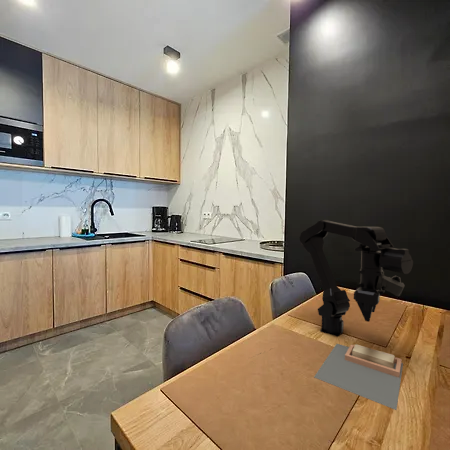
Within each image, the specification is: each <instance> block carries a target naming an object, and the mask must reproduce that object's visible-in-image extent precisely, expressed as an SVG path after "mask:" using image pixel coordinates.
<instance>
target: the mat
mask: <svg viewBox="0 0 450 450" xmlns="http://www.w3.org/2000/svg"><path fill="white" fill-rule="evenodd" d="M349 347H350V346H346V345H343V344H339V343H336V344H335V346H334V347H333V348H332V350H331V351H330V352H329V354H328V356H327V357H326V359H325V360H324V362H323V363H322V365H321V366H320V367H319V369H318V370H317V372H316V373H315V375H314V376H313V378H314V379H317V380H320V381H322V382H325V383H327V384H329V385H332V386H334V387H337V388H340V389H342V390H345V391H347V392H350V393H352V394H354V395H357V396H360V397H362V398H365V399H367V400H370V401H373V402H375V403H376V404H380V405H383V406H385V407H387V408H390V409H392V410H394V411H397V408H398V402H399V395H400V387H401V380H402V373H403V367H404V363H403V362H401V369H400V376H399V377H396V376H393V375H390V374H387V373H384V372H381V371H377V370H374V369H371V368H368V367H365V366H362V365H359V364H356V363H353V362H350V361H347V360H345V354H346V352H347V351H348V349H349ZM351 356H352V354H351ZM393 369H396V364H395V363H394V368H393Z"/></svg>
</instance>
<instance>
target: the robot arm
mask: <svg viewBox="0 0 450 450" xmlns="http://www.w3.org/2000/svg"><path fill="white" fill-rule="evenodd" d="M329 233H330V234H333V235H334V234H335V235H338V236H343V237H346V238H350V239H352V240H353V241H354V242H356V243H358V244H359V245H358V246H356V248H354V251H355V252H359V253H360V254H361V255H360V258H361V259H360V269H359V275H360V282H359V284H358V287H357V289H355V290H354V292H353V299H354V300H355V302H356V304H357V306H358V308H359V310H360V312H361V315H362V318H363V319H364V321H365V322H370V320H371V317H372V313H374V312H375V311H376V307H377V306H378V304H379V303H380V297H381V295H383V294H384V293H385V291H387V292H388V293H391V294H393V295H394V296H396V297H400V296H401V295H402V292H403V290H404V288H405V284H404V282H402V280H401V277H400V276H397V275H394V276H392V277H391V276H386V275H385V271H389V272H395V273H400V274H405V275H408V274H409V273H411V271H412V268H413V266H414V260H413V258H412V255H411V254H410V249H408V248H396V247H395V246H394V244H393V243H392V241H391V240H390V239H389V237H388V235H387V232H386V231H385V229H384V228H383V227H382V226H355V225H352V224H346V223H342V222H336V221H331V220H330V219H324V220H323V219H320V220H319V221H317V222H316V223H314V224H313V225H311V226H309V227H308V228H307V229H305V230H303V231H302V232H301V233H300V235H299V241H300V243H301V245H302V247H303V248H304V250H305V251H306V252H307V253H308V254H310V257H311V261H312V263H313V265H314V268H315V270H316V273H317V276H318V279H319V281H320V284H321V288H322V290H323V291H322V305H321V306H319V307H318V308H317V313H318V315H319V316H320V317H321V329H320V330H319V332H320V333H324V334H327V335H330V336H335V337H336V338H337V337H340V336H341V335H342V334H343V332H344V320H343V316H346V314H347V312H348V311H349V309H350V307H351V304H350V301H351V300H350V299H349V297H348V294H347V293H348V292H347V291H346V290H345V289H341V288H340V287H338V285H337V282H336V280H335V277H334V275H333V273H332V270H331V267H330V265H329V262H328V260H327V259H328V258H327V257H326V254H325V253H324V252H325V251H324V245H325V242H324V239H325V238H326V237H327V236H328V234H329Z"/></svg>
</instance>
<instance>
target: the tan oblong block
mask: <svg viewBox="0 0 450 450" xmlns="http://www.w3.org/2000/svg"><path fill="white" fill-rule="evenodd" d="M354 345H355V346H354V348H353V350H352V356H354V357H358V358H361V359H364V360H367V361H370V362H373V363H377V364H380V365H383V366H386V367H389V368H392V369H393V368H394V357H396V356H395V355H394V354H392V353H388V352H385V351H382V350H381V351H380V350H377V349H374V348H371V347H367V346H363V345H360V344H356V343H355V344H354Z"/></svg>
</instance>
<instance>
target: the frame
mask: <svg viewBox="0 0 450 450" xmlns="http://www.w3.org/2000/svg"><path fill="white" fill-rule="evenodd" d="M355 345H356V344H352V343H351V344H350V346H348V347H349V349H348V351H347V352H346V354H345V360H347V361H350V362H353V363H356V364H359V365H362V366H365V367H368V368H371V369H374V370H377V371H381V372H384V373H387V374H390V375H393V376H396V377H399V376H400V369H401V363H402V358H399V357H396V356H394V363H395V364H396V369H392V368H389V367H386V366H383V365H380V364H377V363H373V362H370V361H367V360H364V359H361V358H358V357H354V356H351V354H352V350H353V348H354V346H355Z"/></svg>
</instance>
